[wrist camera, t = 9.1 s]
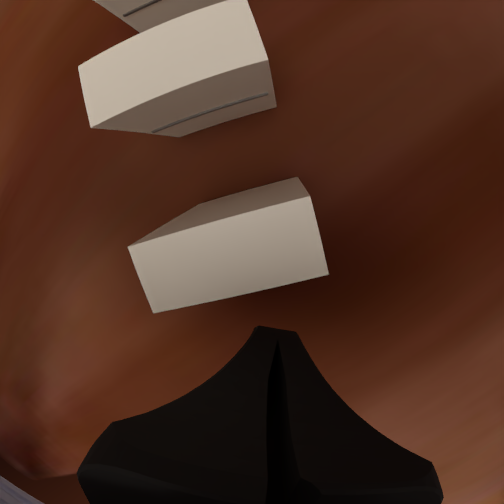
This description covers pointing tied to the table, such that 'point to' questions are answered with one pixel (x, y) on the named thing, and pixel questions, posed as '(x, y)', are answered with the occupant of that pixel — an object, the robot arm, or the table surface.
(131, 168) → the table surface
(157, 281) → the lead tile
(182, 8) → the tile
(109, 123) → the tile
